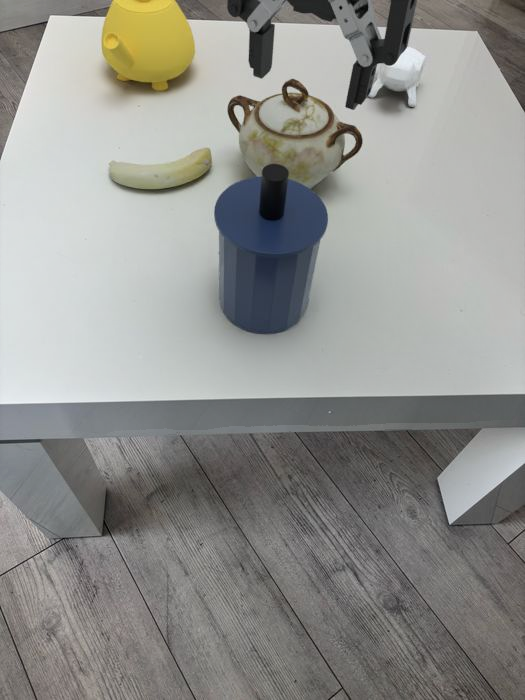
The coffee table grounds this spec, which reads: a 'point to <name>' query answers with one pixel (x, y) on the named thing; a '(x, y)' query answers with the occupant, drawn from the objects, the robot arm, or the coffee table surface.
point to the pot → (264, 288)
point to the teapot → (147, 41)
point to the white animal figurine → (402, 74)
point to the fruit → (162, 171)
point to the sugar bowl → (293, 134)
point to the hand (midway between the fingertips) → (307, 89)
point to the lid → (271, 215)
